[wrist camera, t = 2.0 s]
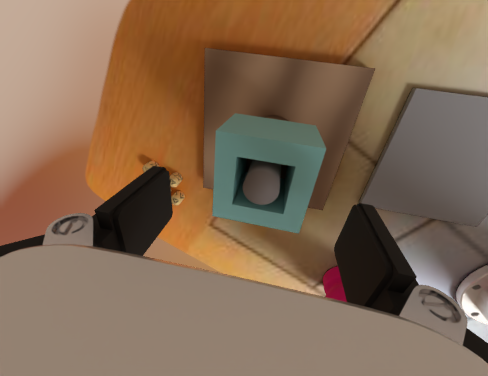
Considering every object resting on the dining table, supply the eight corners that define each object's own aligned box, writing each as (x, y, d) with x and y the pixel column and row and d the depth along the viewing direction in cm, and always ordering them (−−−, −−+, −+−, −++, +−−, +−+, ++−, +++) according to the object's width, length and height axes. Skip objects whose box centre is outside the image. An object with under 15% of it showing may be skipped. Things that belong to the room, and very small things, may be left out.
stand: (369, 68, 18) (461, 71, 8) (320, 202, 25) (340, 287, 16) (210, 48, 19) (133, 32, 10) (207, 181, 27) (161, 247, 17)
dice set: (150, 157, 27) (142, 163, 26) (188, 167, 27) (182, 174, 25) (151, 189, 30) (143, 197, 28) (186, 199, 30) (180, 207, 28)
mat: (571, 108, 17) (580, 109, 16) (472, 223, 23) (476, 226, 23) (412, 87, 18) (416, 88, 18) (358, 202, 24) (360, 205, 24)
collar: (315, 125, 15) (326, 148, 11) (296, 194, 18) (298, 233, 14) (235, 113, 16) (215, 130, 12) (229, 182, 19) (212, 215, 15)
